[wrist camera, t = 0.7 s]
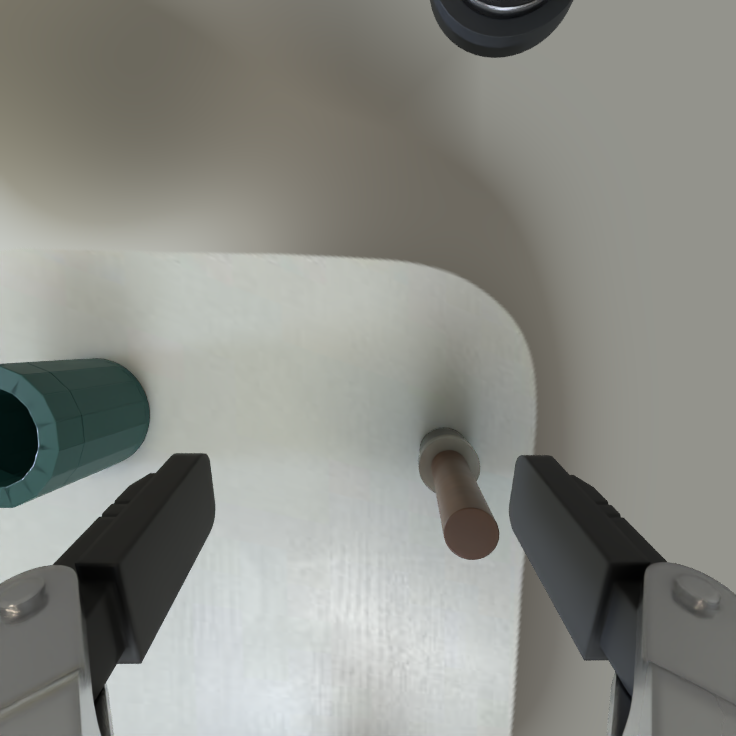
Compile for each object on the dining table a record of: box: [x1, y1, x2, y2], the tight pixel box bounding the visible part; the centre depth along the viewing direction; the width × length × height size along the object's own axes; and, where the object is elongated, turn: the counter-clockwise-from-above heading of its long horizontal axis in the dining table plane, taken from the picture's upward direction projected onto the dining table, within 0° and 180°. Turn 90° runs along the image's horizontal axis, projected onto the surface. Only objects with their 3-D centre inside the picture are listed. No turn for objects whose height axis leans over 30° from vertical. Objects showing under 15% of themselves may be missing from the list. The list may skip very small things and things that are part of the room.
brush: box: [418, 428, 499, 560], centre depth 25 cm, size 4×4×14 cm
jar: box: [0, 358, 150, 508], centre depth 30 cm, size 10×10×9 cm
